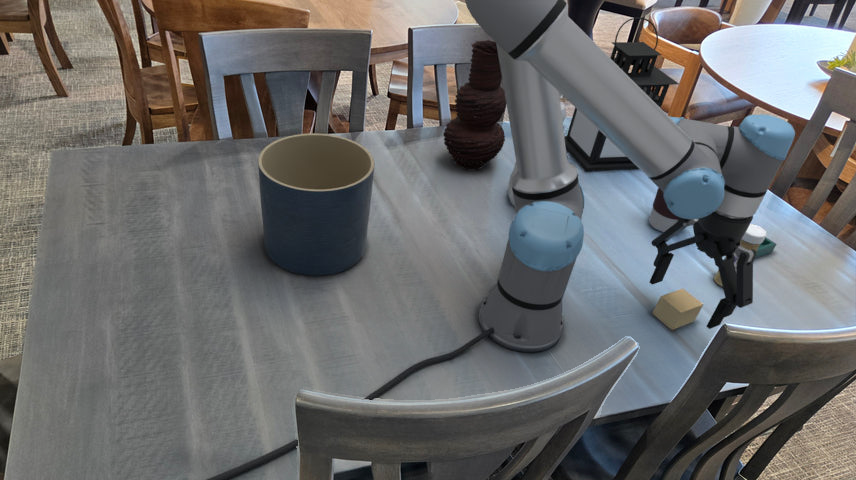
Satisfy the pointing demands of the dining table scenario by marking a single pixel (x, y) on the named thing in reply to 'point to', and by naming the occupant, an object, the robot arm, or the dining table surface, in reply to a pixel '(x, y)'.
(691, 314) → the tan block
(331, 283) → the dining table surface
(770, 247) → the green tray
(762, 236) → the sprinkles bottle
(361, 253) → the planter
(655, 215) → the coffee cup
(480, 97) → the vase
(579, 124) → the lantern
